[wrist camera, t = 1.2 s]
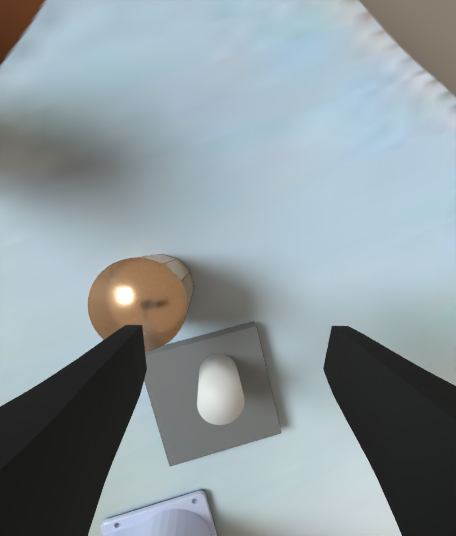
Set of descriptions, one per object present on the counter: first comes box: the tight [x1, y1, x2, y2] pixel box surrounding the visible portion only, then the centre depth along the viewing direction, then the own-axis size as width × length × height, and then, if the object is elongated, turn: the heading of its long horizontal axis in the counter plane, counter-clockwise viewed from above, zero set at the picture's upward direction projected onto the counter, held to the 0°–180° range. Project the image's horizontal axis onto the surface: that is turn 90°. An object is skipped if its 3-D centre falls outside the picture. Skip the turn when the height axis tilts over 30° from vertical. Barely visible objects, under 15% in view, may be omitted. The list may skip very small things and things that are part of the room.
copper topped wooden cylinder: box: [88, 254, 194, 352], centre depth 17 cm, size 6×6×7 cm
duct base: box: [144, 322, 281, 466], centre depth 19 cm, size 10×10×5 cm
